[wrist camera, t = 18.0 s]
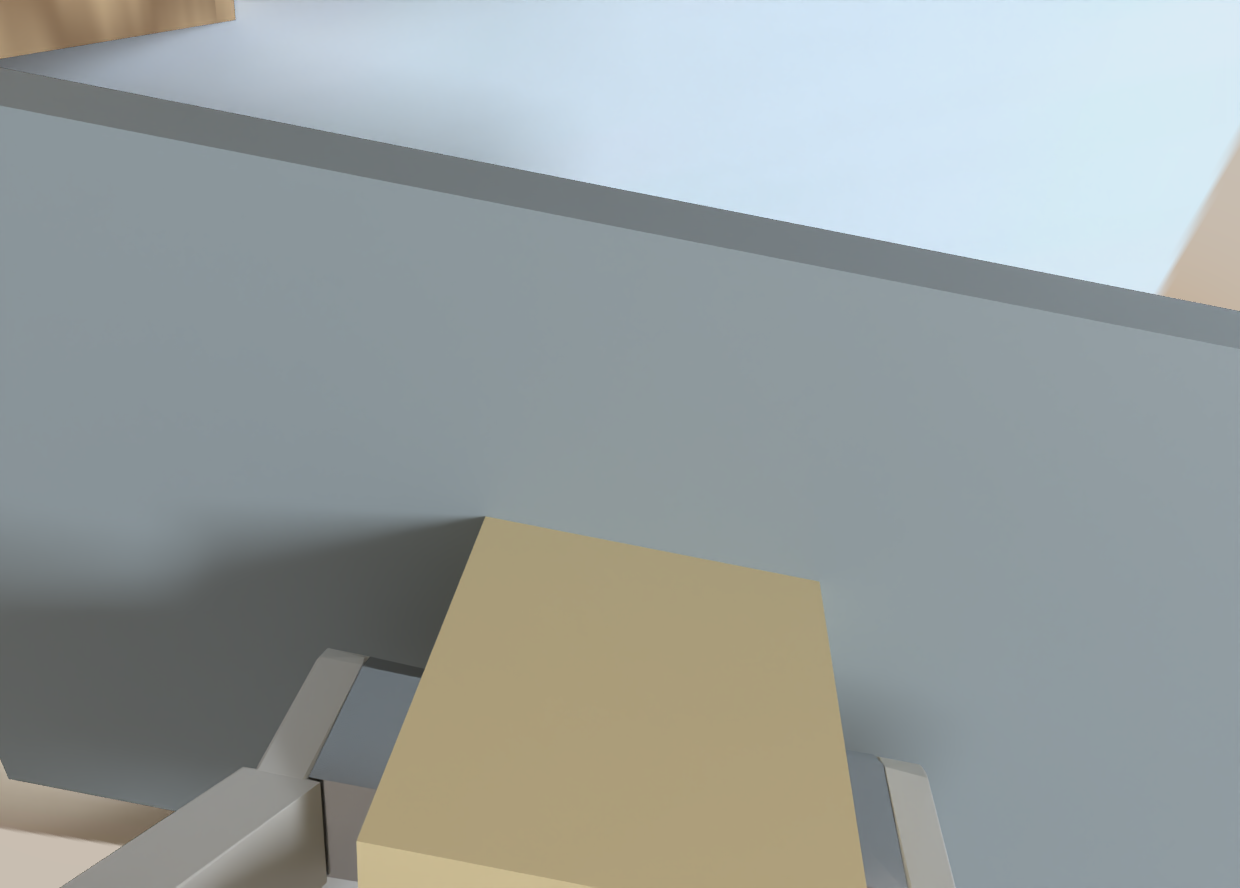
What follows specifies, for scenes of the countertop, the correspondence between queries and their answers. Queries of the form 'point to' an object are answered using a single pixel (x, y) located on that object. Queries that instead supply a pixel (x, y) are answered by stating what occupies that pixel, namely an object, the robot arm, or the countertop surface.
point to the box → (97, 21)
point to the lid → (602, 514)
